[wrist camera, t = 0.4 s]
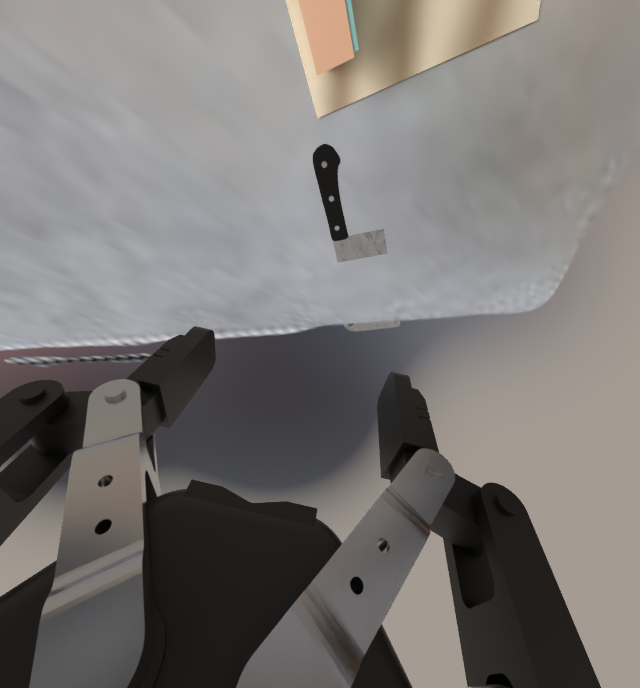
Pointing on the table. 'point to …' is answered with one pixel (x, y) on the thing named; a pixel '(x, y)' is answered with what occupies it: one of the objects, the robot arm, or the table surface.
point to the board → (405, 42)
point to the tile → (329, 32)
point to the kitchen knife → (344, 244)
